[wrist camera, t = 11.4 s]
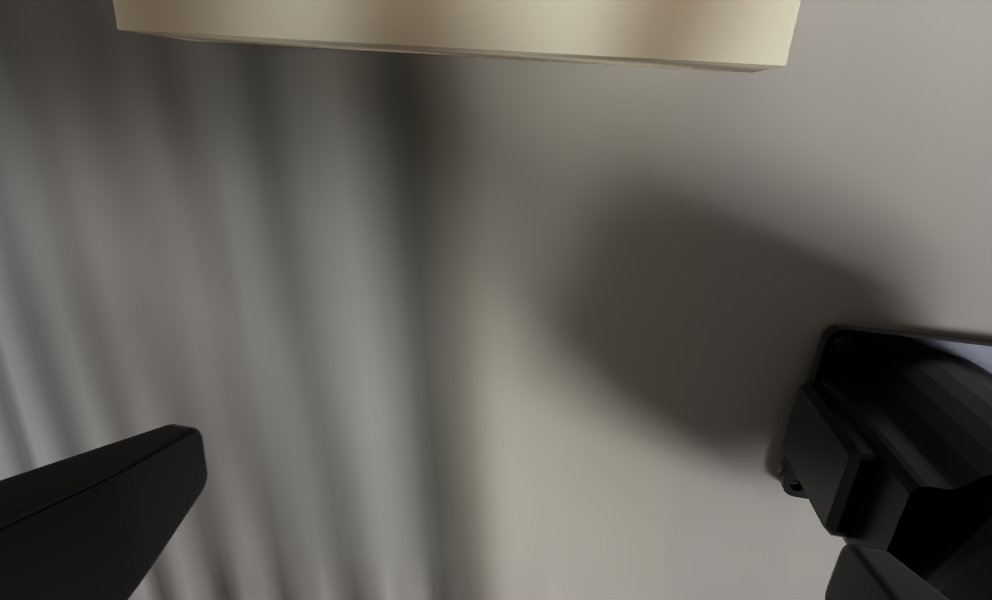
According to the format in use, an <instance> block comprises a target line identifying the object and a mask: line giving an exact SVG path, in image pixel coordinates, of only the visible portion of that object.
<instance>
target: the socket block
mask: <svg viewBox="0 0 992 600" xmlns="http://www.w3.org/2000/svg"><path fill="white" fill-rule="evenodd" d="M800 2H801V0H113V5H114V11H115V17H116V23H117V29H118V30H123V31H130V32H136V33H143V34H150V35H156V36H163V37H169V38H176V39H182V40H189V41H203V42H221V43H238V44H256V45H274V46H292V47H309V48H327V49H345V50H363V51H380V52H398V53H416V54H434V55H451V56H469V57H487V58H505V59H522V60H540V61H558V62H576V63H593V64H611V65H629V66H646V67H664V68H682V69H700V70H717V71H735V72H758V71H763V70H768V69H773V68H778V67H783V66H786V63H787V58H788V54H789V50H790V45H791V41H792V37H793V32H794V28H795V24H796V19H797V15H798V11H799V6H800Z"/></svg>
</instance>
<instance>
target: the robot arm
mask: <svg viewBox="0 0 992 600" xmlns="http://www.w3.org/2000/svg"><path fill="white" fill-rule="evenodd" d="M844 336H845V337H846V341H845V342H844V344H842V345H840V346H834V342H835V340H836V339H837V338H839V337H844ZM782 449H783V451H784V453H785V455H786V456H785V459H784V462H783V466H782V469H781V472H780V476H779V480H780V483H781V485H782V487H783V489H784V491H785V492H786V493H787V494H789V495H791V496H794V497H800V498H806V499H809V500H810V502H811V504H812V506H813V508H814V510H815V512H816V514H817V516H818V518H819V519H820V521H821V523H822V525H823V526H824V528H825V529H826V530H827V531H828V533H829V534H830V535H833V536H839V537H843V539H844V541H845V543H846V544H847V545H845V546H844V547H843V548H842V550H841V552H840V554H839V557H838V559H837V562H836V565H835V568H834V570H833V573H832V576H831V578H830V581H829V584H828V586H827V589H826V594H825V600H992V342H985V341H977V340H968V339H960V338H952V337H943V336H935V335H926V334H918V333H909V332H901V331H892V330H884V329H875V328H867V327H858V326H850V325H834V326H831V327H829V328H828V329H826V330H825V331H824V332H823V334H822V336H821V339H820V342H819V345H818V349H817V352H816V355H815V359H814V362H813V365H812V369H811V372H810V375H809V379H808V381H807V382H805V383H804V384H803V385H801V386H800V387H799V389H798V393H797V396H796V399H795V403H794V406H793V410H792V413H791V416H790V420H789V423H788V427H787V430H786V433H785V437H784V440H783V444H782ZM795 479H798V480H799V481H800V482H799V483H797V484H792V483H791V482H792V481H793V480H795ZM206 480H207V466H206V459H205V452H204V445H203V438H202V434H201V433H200V431H199V430H198V429H196V428H194V427H188V426H182V425H176V424H170V425H166V426H163V427H160V428H157V429H154V430H151V431H148V432H145V433H142V434H139V435H136V436H133V437H130V438H127V439H124V440H121V441H118V442H115V443H112V444H109V445H106V446H103V447H100V448H97V449H94V450H91V451H88V452H85V453H82V454H79V455H76V456H73V457H70V458H67V459H64V460H61V461H58V462H55V463H52V464H49V465H46V466H43V467H40V468H37V469H34V470H31V471H28V472H25V473H22V474H19V475H16V476H13V477H10V478H7V479H4V480H1V481H0V600H128V599H129V597H130V596H131V595H132V593H133V592H134V591H135V589H136V588H137V587H138V586H139V584H140V583H141V581H142V580H143V578H144V577H145V576H146V574H147V573H148V571H149V570H150V569H151V567H152V566H153V564H154V563H155V561H156V560H157V558H158V557H159V555H160V554H161V552H162V551H163V549H164V548H165V546H166V545H167V543H168V542H169V540H170V539H171V537H172V536H173V534H174V533H175V531H176V530H177V528H178V527H179V525H180V524H181V522H182V521H183V519H184V518H185V516H186V515H187V513H188V512H189V510H190V509H191V507H192V506H193V504H194V503H195V501H196V500H197V498H198V497H199V495H200V494H201V492H202V490H203V488H204V486H205V484H206Z"/></svg>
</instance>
